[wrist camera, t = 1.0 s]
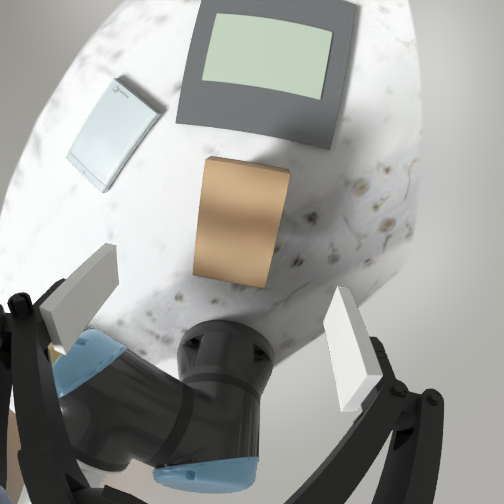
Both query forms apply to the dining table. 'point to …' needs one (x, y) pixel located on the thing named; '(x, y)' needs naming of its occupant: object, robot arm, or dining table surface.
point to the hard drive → (111, 134)
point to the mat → (268, 67)
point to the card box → (238, 220)
